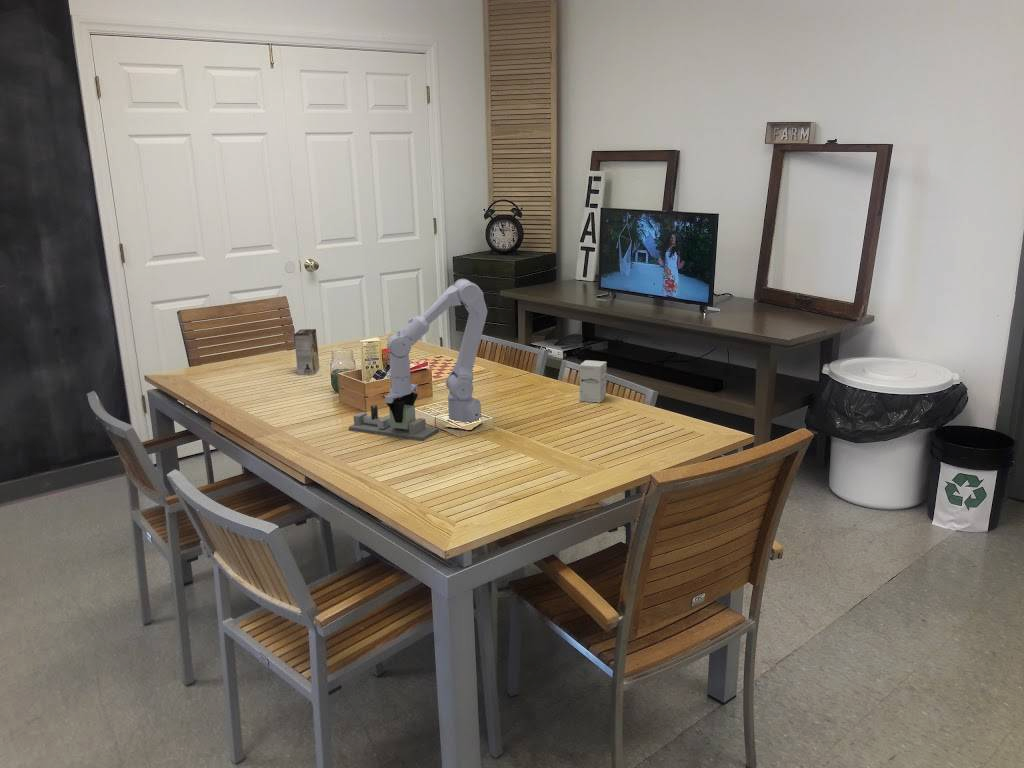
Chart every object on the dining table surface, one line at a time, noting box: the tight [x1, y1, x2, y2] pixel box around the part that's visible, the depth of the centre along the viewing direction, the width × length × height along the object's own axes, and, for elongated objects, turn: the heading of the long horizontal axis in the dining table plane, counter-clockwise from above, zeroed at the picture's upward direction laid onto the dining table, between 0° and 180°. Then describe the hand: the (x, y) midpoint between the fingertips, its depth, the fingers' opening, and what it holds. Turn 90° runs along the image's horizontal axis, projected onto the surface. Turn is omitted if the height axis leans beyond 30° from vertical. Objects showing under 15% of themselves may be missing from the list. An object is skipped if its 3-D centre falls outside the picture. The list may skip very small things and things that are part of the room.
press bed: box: [348, 411, 439, 442], centre depth 244 cm, size 26×9×4 cm, turn 65°
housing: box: [388, 405, 417, 430], centre depth 242 cm, size 6×4×6 cm
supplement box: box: [578, 359, 608, 404], centre depth 270 cm, size 7×7×13 cm
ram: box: [362, 404, 390, 429], centre depth 246 cm, size 9×6×6 cm, turn 65°
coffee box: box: [293, 328, 320, 376], centre depth 312 cm, size 9×6×16 cm
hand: (403, 419), depth 242 cm, fingers closed on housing, 4 cm apart
